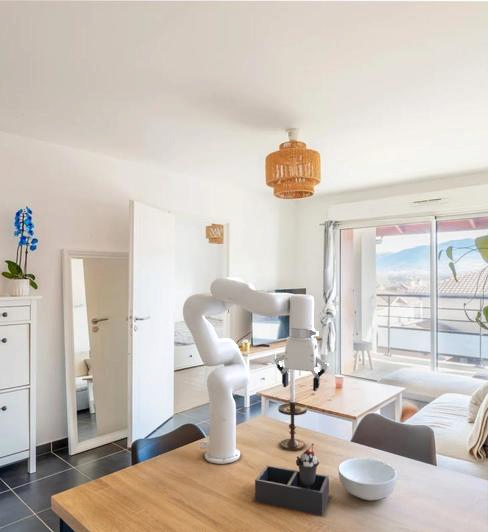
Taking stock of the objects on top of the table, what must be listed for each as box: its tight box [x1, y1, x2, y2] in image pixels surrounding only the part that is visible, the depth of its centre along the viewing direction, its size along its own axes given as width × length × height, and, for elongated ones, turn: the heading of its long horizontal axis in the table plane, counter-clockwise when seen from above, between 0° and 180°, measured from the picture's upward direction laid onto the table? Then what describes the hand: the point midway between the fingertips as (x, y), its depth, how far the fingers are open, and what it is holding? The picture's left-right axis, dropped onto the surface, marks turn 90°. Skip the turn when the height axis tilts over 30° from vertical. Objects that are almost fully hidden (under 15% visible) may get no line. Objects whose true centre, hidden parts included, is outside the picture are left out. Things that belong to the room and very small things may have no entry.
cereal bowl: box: [338, 457, 398, 501], centre depth 120 cm, size 17×17×7 cm
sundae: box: [295, 443, 320, 489], centre depth 115 cm, size 7×7×15 cm
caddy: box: [254, 464, 330, 517], centre depth 116 cm, size 10×19×6 cm, turn 69°
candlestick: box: [277, 369, 308, 452], centre depth 154 cm, size 11×11×35 cm
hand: (300, 388), depth 126 cm, fingers open, 9 cm apart
